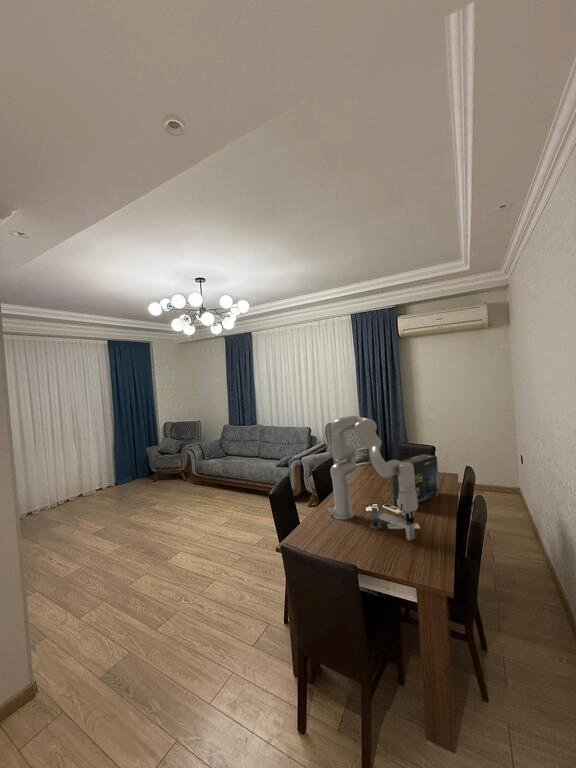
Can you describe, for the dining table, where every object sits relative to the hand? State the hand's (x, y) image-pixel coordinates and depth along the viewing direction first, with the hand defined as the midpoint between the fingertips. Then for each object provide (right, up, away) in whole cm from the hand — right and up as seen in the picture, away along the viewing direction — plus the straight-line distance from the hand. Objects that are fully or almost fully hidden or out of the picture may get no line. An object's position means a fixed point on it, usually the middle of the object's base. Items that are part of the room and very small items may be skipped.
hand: (410, 524), depth 152 cm
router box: (+23, -5, +45) cm, 51 cm away
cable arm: (-7, -5, +3) cm, 9 cm away
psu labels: (+1, -6, +11) cm, 13 cm away
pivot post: (-14, -7, +13) cm, 20 cm away
